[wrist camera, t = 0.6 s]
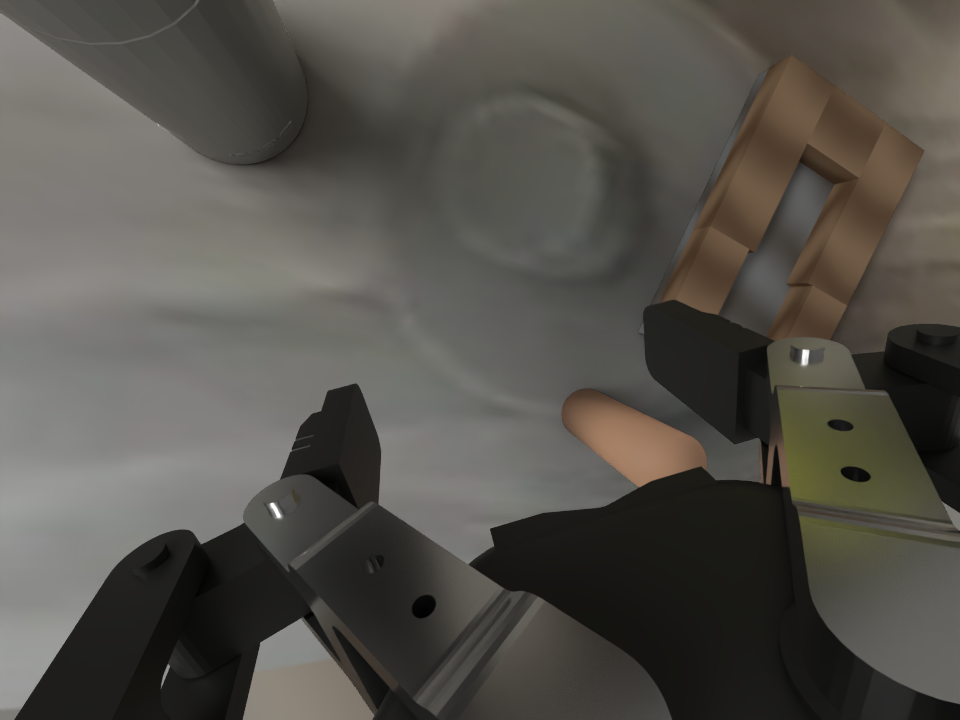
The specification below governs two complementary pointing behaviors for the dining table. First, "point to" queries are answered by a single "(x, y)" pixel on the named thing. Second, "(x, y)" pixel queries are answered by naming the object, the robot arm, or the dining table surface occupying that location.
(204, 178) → the dining table surface
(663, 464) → the peg
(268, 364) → the dining table surface
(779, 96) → the keyhole block
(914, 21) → the dining table surface
